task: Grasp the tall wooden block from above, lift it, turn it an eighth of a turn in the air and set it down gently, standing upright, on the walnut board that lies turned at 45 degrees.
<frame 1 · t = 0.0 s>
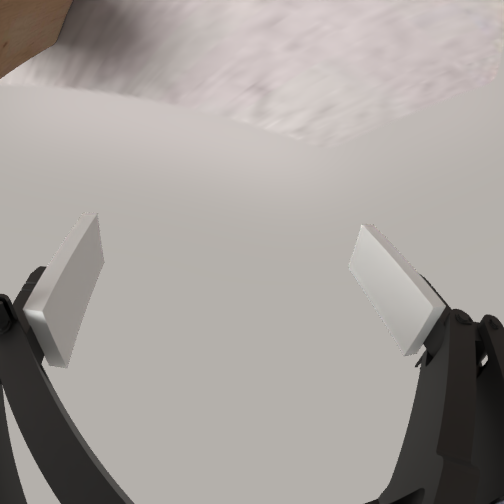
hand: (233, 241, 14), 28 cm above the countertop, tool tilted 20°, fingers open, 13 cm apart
wooden block: (41, 3, 19), on the countertop
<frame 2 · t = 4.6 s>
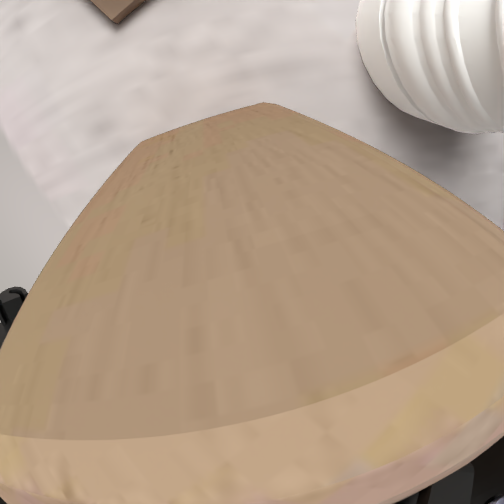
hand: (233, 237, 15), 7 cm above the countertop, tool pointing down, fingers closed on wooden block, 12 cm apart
honey pot: (423, 44, 17), on the countertop
wooden block: (222, 184, 21), on the countertop, touching gripper
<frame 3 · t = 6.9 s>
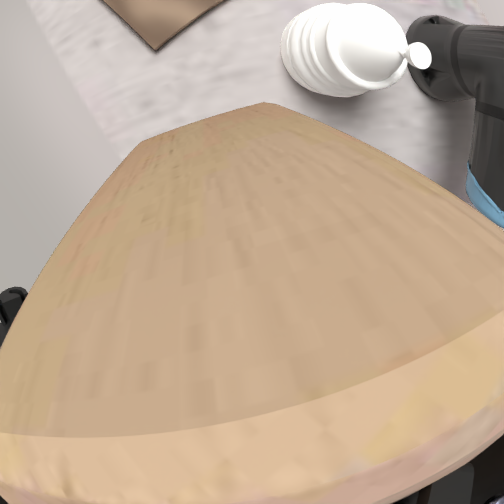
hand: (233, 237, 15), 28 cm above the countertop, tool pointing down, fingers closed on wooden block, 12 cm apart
honey pot: (325, 51, 33), on the countertop
wooden block: (222, 184, 21), point 20 cm above the countertop, touching gripper
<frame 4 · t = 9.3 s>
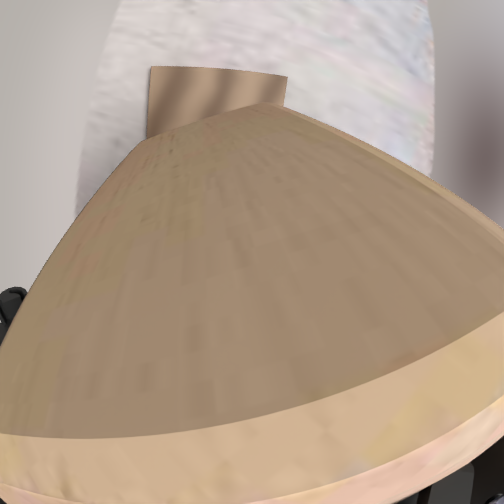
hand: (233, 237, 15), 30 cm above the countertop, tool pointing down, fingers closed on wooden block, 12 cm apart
wooden block: (222, 184, 21), point 22 cm above the countertop, touching gripper
walnut board: (212, 130, 40), on the countertop
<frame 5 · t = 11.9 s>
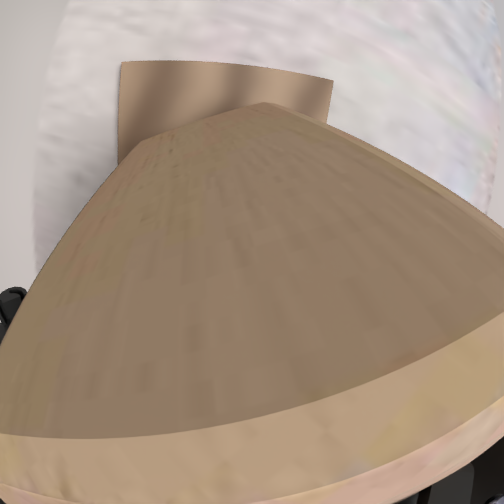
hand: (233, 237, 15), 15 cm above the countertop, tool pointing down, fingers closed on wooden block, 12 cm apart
wooden block: (222, 183, 21), point 7 cm above the countertop, touching gripper
walnut board: (218, 160, 27), on the countertop
when the fingers open (10 cm above the countertop, at t = 14.1 s): wooden block stays where it is, resting on walnut board.
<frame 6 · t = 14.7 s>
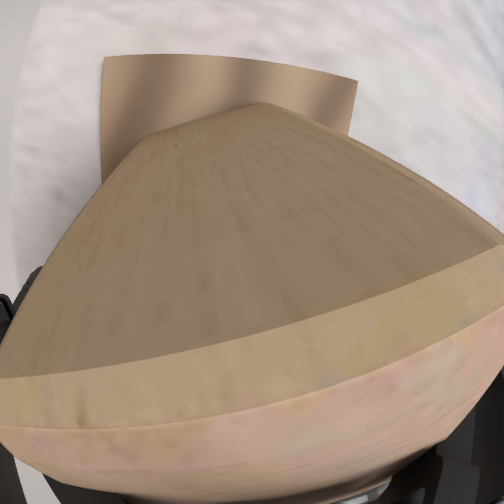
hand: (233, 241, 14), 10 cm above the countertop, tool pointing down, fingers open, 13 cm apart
wooden block: (221, 180, 22), point 1 cm above the countertop, touching walnut board
walnut board: (220, 174, 23), on the countertop
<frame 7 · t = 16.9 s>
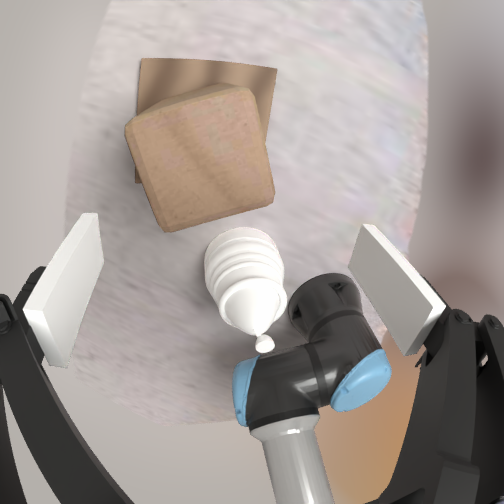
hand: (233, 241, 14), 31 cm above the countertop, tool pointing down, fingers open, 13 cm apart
honey pot: (241, 259, 53), on the countertop
wooden block: (202, 124, 38), point 1 cm above the countertop, touching walnut board
walnut board: (201, 122, 39), on the countertop
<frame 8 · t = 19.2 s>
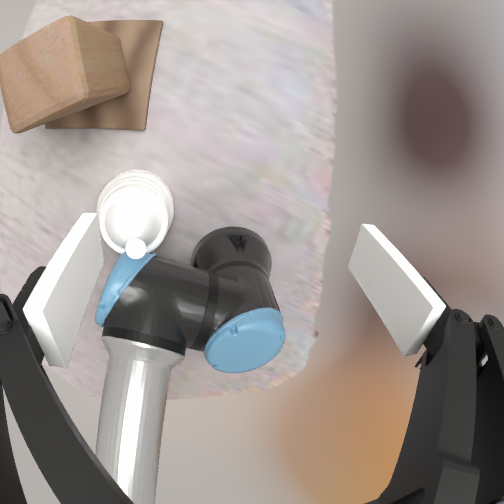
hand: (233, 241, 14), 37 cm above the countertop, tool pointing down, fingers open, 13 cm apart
honey pot: (136, 205, 50), on the countertop, touching arm
wooden block: (97, 73, 36), point 1 cm above the countertop, touching walnut board
walnut board: (99, 73, 37), on the countertop
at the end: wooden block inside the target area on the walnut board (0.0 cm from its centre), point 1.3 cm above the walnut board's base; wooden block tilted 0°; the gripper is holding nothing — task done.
